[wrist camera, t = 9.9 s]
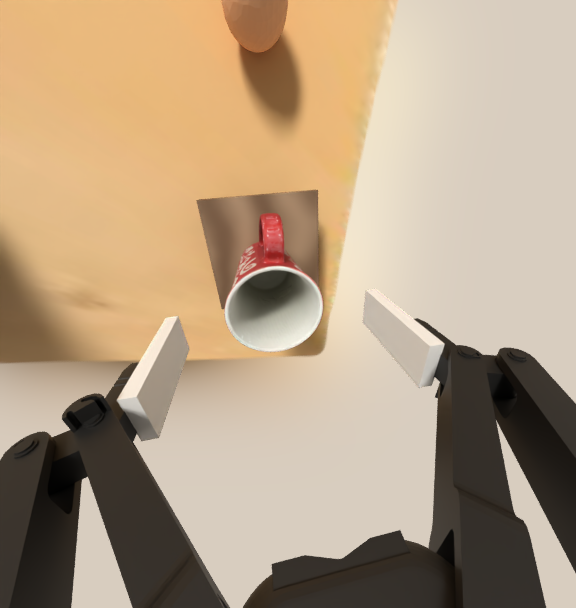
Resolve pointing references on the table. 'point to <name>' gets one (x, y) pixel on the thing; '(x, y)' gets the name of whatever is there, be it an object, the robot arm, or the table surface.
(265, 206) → the stool
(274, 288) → the mug
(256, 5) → the egg
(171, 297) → the table surface
